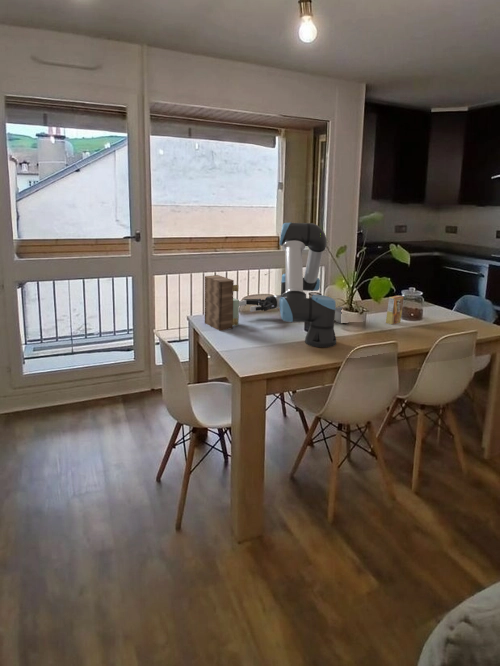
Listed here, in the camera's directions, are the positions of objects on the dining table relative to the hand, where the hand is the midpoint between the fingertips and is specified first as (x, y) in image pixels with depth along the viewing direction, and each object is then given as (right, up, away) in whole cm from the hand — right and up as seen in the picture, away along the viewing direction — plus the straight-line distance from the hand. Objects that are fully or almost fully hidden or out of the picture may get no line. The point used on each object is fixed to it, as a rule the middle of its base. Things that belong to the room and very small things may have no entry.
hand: (243, 306), depth 269 cm
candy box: (+86, -9, +11) cm, 87 cm away
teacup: (+56, -8, +10) cm, 58 cm away
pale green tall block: (-6, -10, -1) cm, 11 cm away
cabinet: (-12, -11, -6) cm, 17 cm away
